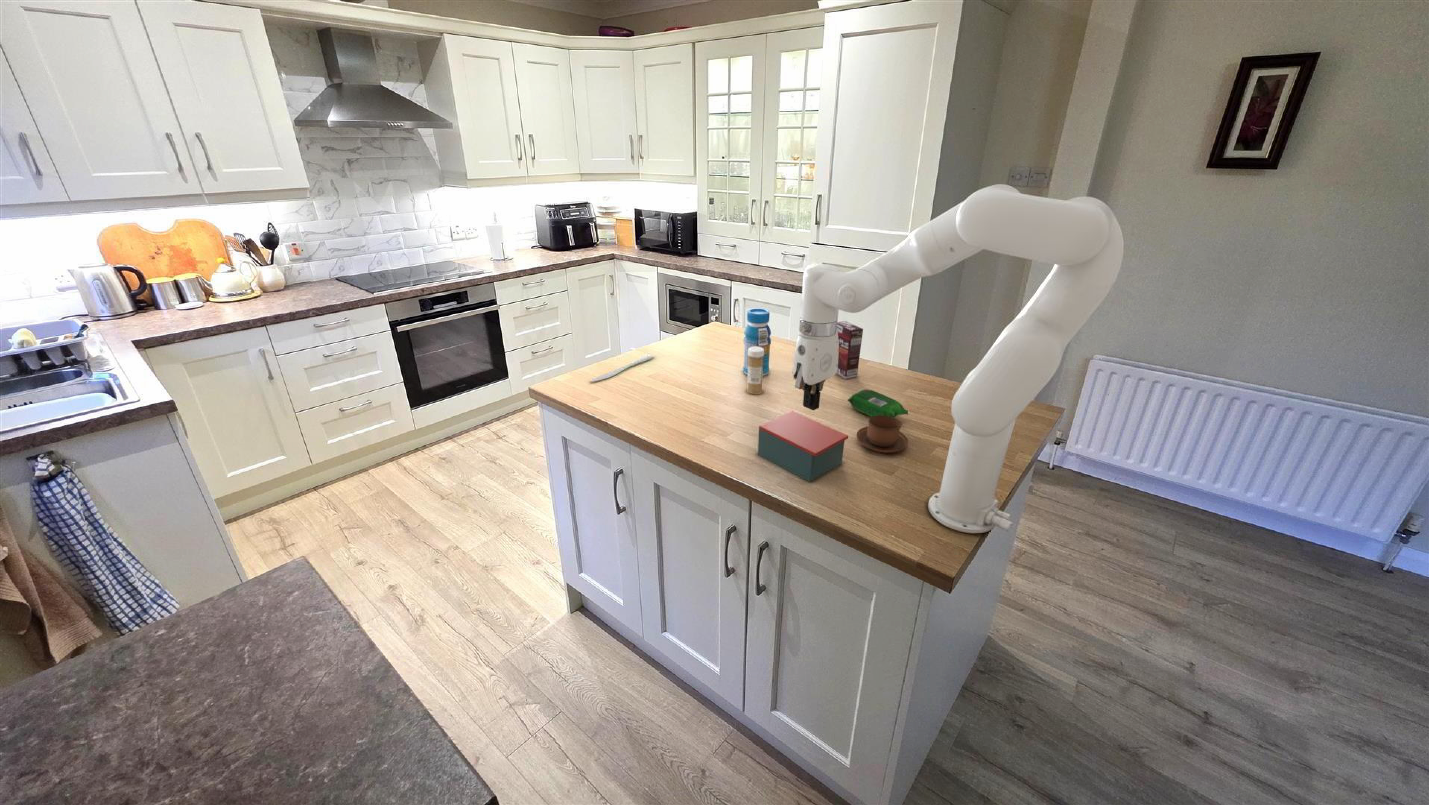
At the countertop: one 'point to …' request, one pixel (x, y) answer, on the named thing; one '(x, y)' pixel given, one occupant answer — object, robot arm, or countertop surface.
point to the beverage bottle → (757, 336)
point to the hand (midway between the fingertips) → (810, 407)
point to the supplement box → (848, 349)
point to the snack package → (876, 404)
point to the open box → (798, 457)
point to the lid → (803, 433)
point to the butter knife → (622, 369)
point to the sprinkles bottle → (755, 369)
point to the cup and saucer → (882, 434)
